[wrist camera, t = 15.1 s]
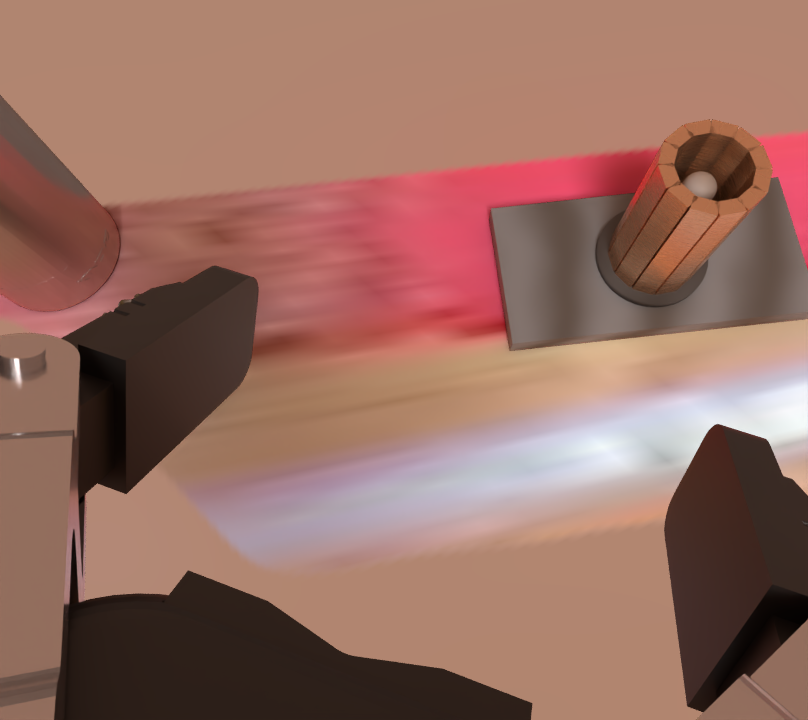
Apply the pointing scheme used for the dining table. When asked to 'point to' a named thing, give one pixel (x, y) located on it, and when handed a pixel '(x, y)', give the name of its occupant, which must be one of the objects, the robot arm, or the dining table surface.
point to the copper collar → (688, 205)
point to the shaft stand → (623, 306)
